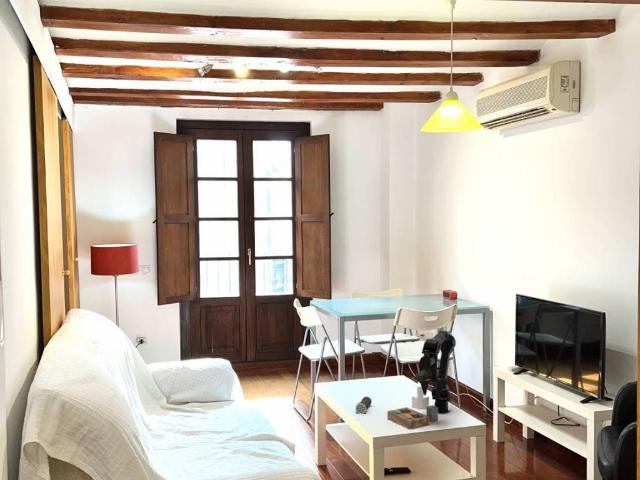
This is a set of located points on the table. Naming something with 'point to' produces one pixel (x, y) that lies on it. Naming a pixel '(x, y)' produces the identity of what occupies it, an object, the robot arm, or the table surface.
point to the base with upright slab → (420, 399)
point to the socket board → (408, 418)
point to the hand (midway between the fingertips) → (430, 396)
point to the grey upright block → (432, 413)
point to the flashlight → (363, 405)
